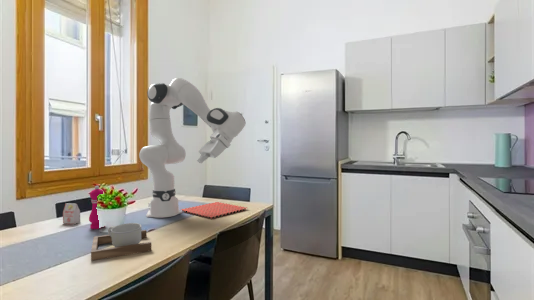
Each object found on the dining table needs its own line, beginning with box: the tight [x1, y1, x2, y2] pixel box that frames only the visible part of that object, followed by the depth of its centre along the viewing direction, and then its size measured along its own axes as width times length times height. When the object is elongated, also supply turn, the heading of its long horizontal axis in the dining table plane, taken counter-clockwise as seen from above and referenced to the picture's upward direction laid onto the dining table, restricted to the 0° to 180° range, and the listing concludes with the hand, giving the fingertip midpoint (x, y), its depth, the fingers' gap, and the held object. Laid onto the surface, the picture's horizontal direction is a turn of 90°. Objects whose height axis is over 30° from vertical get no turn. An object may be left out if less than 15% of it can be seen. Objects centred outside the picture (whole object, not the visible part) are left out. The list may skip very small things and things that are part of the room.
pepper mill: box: [88, 185, 104, 230], centre depth 144 cm, size 7×7×20 cm
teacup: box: [107, 222, 142, 247], centre depth 117 cm, size 14×11×8 cm
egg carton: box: [179, 201, 248, 220], centre depth 177 cm, size 28×28×2 cm
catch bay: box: [90, 229, 153, 262], centre depth 116 cm, size 19×20×3 cm
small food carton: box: [62, 202, 81, 225], centre depth 152 cm, size 4×7×10 cm, turn 77°
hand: (199, 162), depth 136 cm, fingers closed
